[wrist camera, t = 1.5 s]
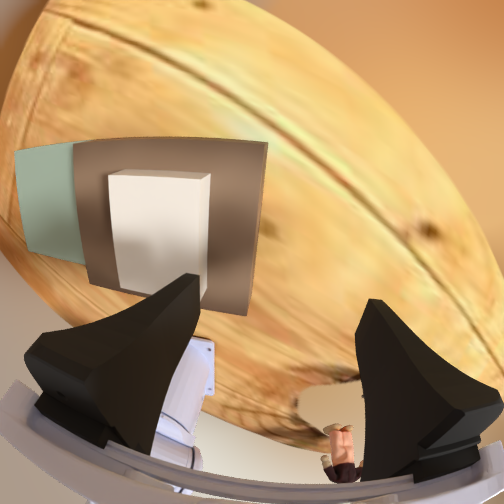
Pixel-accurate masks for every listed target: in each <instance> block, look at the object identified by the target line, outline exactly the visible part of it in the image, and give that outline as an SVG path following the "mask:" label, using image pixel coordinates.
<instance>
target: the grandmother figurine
mask: <svg viewBox="0 0 504 504" xmlns="http://www.w3.org/2000/svg"><path fill="white" fill-rule="evenodd" d="M340 428H341V425H340V424H333V425H330V426H327V427H325V428H324V429H323V431H324V433H326V434H328V435H329V436H330V444H331V456H332V463H333V466H332V465H331V463H330V461H329V458H328V456H327V455H323V456H322V457H321V461H322V465H323V468H324V472H325V473H326V475H327V476H328V478H329V480H330V481H332V482H334V483H338V484H340V483H353V482H355V481H357V480H358V479H359V478H360V477H361V474H362V467H363V460H362V461H361V462H360V465H359V467H357V468H355V464H354V447H353V441H352V434H351V431H352V430H353V428H354V427H353V426H351V425H349V426H345V427H343V428H341V429H340ZM339 429H340V430H339ZM341 504H350V503H341Z"/></svg>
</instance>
